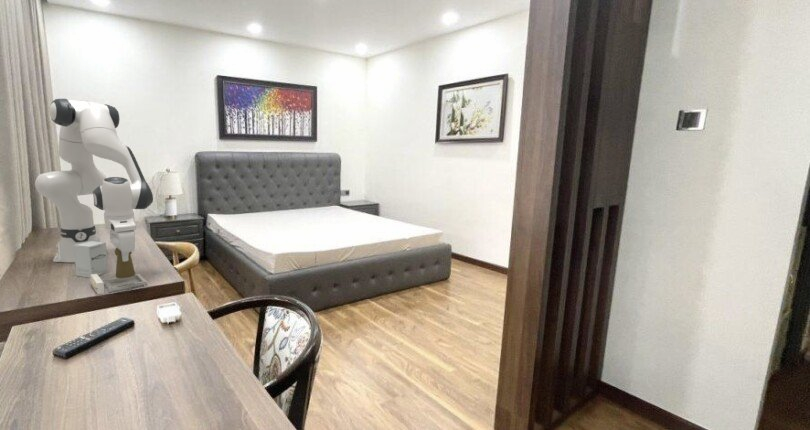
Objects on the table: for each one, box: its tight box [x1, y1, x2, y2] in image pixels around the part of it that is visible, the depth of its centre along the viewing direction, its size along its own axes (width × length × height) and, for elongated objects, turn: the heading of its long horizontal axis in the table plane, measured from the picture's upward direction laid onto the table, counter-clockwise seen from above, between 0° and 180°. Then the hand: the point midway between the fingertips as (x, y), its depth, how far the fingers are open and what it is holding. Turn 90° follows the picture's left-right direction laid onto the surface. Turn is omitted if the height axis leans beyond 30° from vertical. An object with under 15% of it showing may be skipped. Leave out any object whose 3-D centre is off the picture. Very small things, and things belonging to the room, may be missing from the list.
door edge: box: [89, 274, 105, 295], centre depth 142 cm, size 12×2×4 cm, turn 46°
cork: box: [114, 248, 136, 278], centre depth 146 cm, size 6×6×11 cm
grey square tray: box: [102, 273, 148, 293], centre depth 147 cm, size 12×12×2 cm
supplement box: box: [74, 241, 109, 279], centre depth 156 cm, size 7×7×13 cm
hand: (123, 259), depth 146 cm, fingers closed on cork, 4 cm apart
